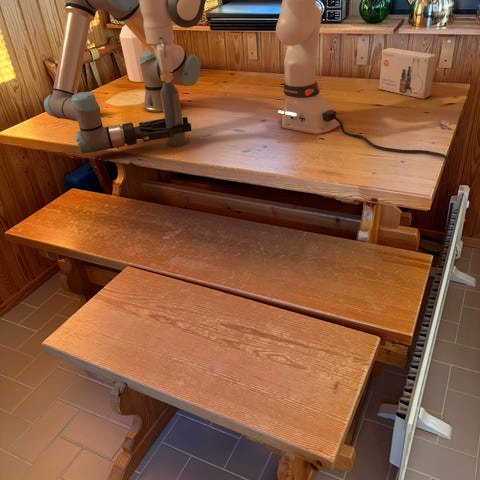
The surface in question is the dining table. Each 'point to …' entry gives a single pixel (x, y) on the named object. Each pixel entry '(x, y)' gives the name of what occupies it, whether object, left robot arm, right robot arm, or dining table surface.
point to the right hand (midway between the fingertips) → (167, 80)
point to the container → (132, 53)
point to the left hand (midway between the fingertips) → (189, 123)
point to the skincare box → (407, 72)
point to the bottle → (172, 111)
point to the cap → (164, 78)
